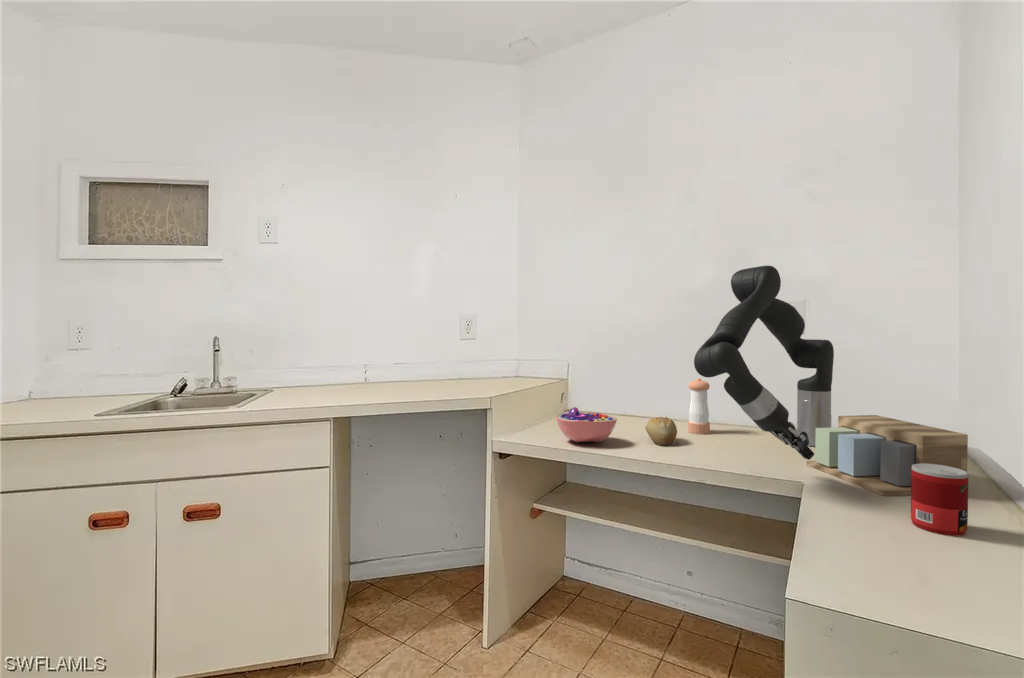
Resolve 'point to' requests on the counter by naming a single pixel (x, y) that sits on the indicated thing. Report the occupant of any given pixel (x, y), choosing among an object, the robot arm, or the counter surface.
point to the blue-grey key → (859, 454)
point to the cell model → (585, 426)
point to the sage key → (829, 444)
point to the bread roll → (661, 430)
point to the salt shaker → (699, 408)
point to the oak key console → (928, 441)
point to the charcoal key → (897, 462)
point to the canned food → (939, 499)
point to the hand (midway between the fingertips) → (809, 456)
